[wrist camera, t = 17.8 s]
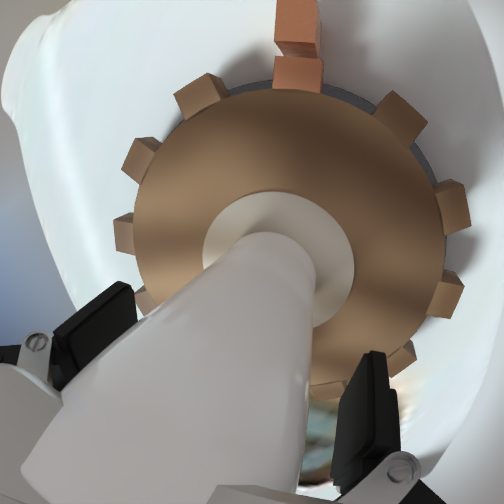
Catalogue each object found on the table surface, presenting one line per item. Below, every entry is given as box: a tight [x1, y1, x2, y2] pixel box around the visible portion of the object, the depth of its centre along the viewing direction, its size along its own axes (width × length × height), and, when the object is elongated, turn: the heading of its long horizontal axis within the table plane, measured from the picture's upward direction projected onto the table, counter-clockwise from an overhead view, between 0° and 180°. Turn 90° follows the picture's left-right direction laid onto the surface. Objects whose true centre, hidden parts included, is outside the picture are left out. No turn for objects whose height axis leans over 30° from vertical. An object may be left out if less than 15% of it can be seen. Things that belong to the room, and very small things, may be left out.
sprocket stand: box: [172, 0, 447, 253], centre depth 18 cm, size 24×22×4 cm
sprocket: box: [113, 56, 471, 401], centre depth 15 cm, size 24×24×7 cm
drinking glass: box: [21, 231, 316, 504], centre depth 10 cm, size 7×7×15 cm
